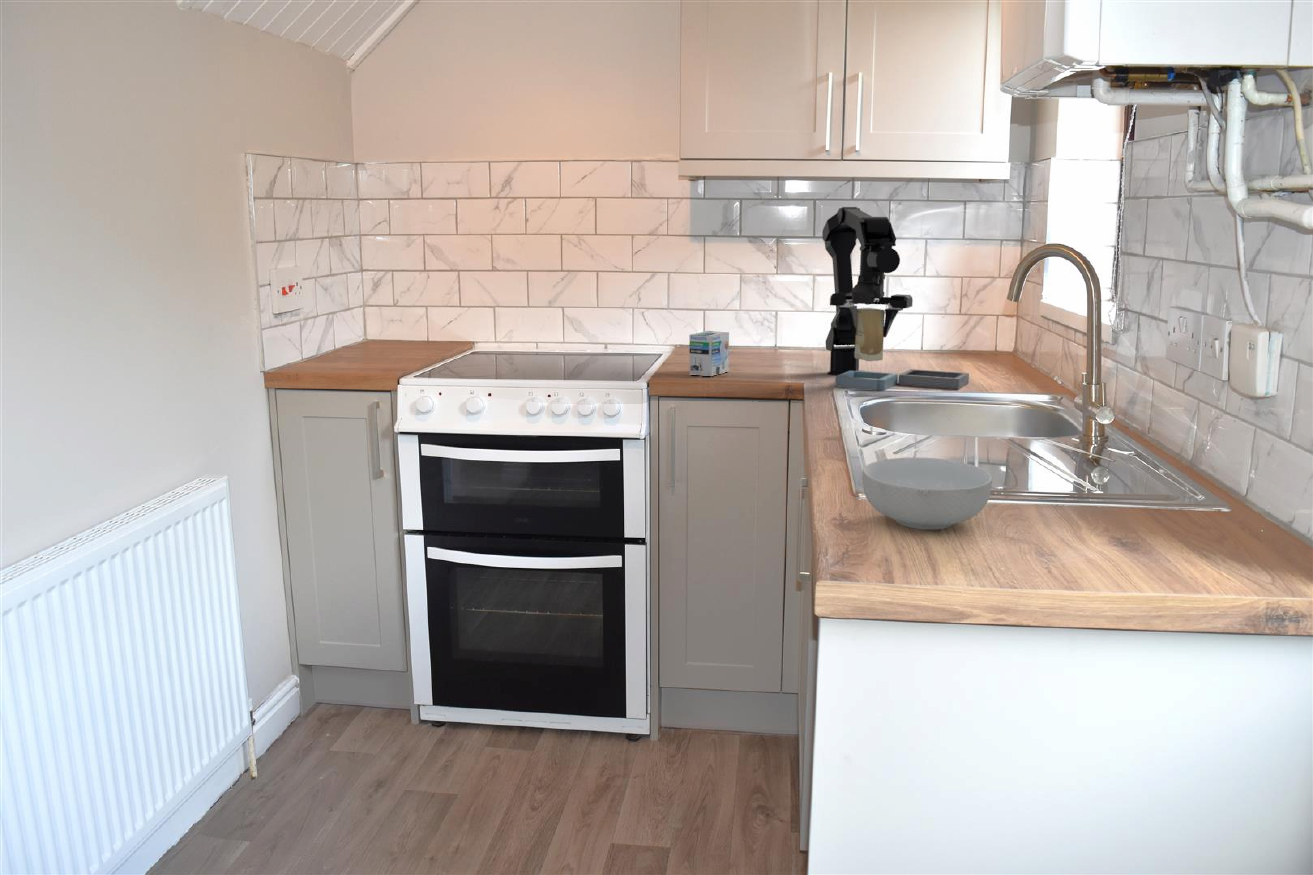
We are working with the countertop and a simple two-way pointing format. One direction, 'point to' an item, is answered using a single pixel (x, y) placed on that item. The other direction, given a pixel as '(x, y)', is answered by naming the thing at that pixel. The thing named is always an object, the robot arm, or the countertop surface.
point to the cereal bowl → (926, 491)
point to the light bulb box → (709, 353)
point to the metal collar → (934, 379)
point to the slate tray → (866, 380)
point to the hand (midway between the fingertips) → (869, 336)
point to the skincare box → (869, 334)
